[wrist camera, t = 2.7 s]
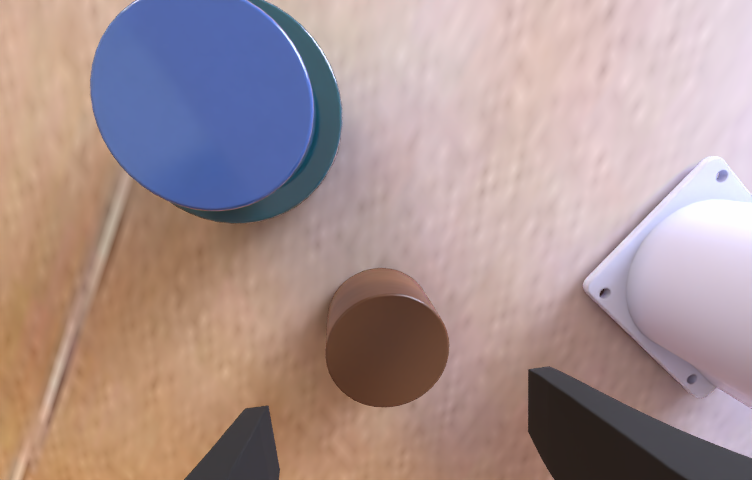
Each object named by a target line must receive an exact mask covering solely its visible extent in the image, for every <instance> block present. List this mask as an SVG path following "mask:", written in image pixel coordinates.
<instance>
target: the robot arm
mask: <svg viewBox="0 0 752 480" xmlns="http://www.w3.org/2000/svg"><path fill="white" fill-rule="evenodd" d="M718 173H719V175H718V178H717V179H716V176H717V174H718ZM583 289H584V291H585V293H587V294H588V295H589V296H590V297H591V298H592V299H593V300H594V301H595V302H596V303H597V304H598V305H599V306H600V307H601V308H602V309H603V310H604V311H605V312H606V313H607V314H608V315H609V316H610V317H611V318H612V319H613V320H614V321H615V322H617V323H618V324H619V325H620V326H621V327H622V328H623V329H624V330H625V331H626V332H627V333H628V334H629V335H630V336H631V337H632V338H633V339H634V340H635V341H636V342H637V343H638V344H639V345H640V346H641V347H642V348H643V349H644V350H645V351H647V352H648V353H649V354H650V355H651V356H652V357H653V358H654V359H655V360H656V361H657V362H658V363H659V364H660V365H661V366H662V367H663V368H664V369H665V370H666V371H667V372H668V373H669V374H670V375H671V376H672V377H673V378H674V379H676V380H677V381H678V382H679V383H680V384H681V385H682V386H683V387H684V388H685V389H686V390H687V391H688V392H689V393H690V394H692V395H693V396H695V397H696V398H704V397H706V396H708V395H709V394H710V393H711V392H712V391H713V390H714V389H715V388H716V387H717V388H719V389H721V390H722V391H724V392H725V393H727V394H729V395H730V396H732V397H734V398H735V399H737V400H738V401H740V402H742V403H743V404H745V405H747V406H748V407H750V408H751V409H752V195H751V194H750V192H749V191H748V190H747V189H746V187H745V186H744V185H743V184H742V182H741V181H740V180H739V179H738V177H737V176H736V175H735V174H734V172H733V171H732V170H731V169H730V167H729V166H728V165H727V164H726V162H725V161H724V160H723V159H722V158H720V157H706V158H704V159H703V160H702V161H701V162H700V163H699V164H698V165H697V166H696V167H695V168H694V169H693V170H692V171H691V172H690V173H689V174H688V175H687V176H686V177H685V178H684V179H683V180H682V181H681V182H680V183H679V184H678V185H677V186H676V187H675V188H674V189H673V190H672V191H671V192H670V193H669V194H668V195H667V196H666V197H665V198H664V199H663V200H662V201H661V202H660V203H659V204H658V205H657V206H656V207H655V208H654V209H653V211H652V212H651V213H650V214H649V215H648V216H647V217H646V218H645V219H644V220H643V221H642V222H641V223H640V224H639V225H638V226H637V227H636V228H635V229H634V230H633V231H632V232H631V233H630V234H629V235H628V236H627V237H626V238H625V239H624V240H623V241H622V242H621V243H620V244H619V245H618V246H617V247H616V248H615V249H614V250H613V251H612V252H611V253H610V254H609V255H608V256H607V257H606V258H605V259H604V260H603V261H602V262H601V263H600V264H599V265H598V266H597V268H596V269H595V270H594V271H593V272H592V273H591V274H590V275H589V276H588V277H587V278H586V279H585V281H584V283H583ZM602 289H605V290H604V293H603V294H602V295H601V296H600V292H601V290H602ZM528 432H529V434H530V436H531V438H532V440H533V442H534V444H535V446H536V448H537V450H538V452H539V454H540V456H541V458H542V460H543V462H544V464H545V466H546V467H547V469H548V471H549V472H550V474H551V475H552V477H553V478H554V480H752V458H749V457H747V456H744V455H741V454H738V453H736V452H733V451H731V450H728V449H726V448H723V447H720V446H718V445H715V444H713V443H710V442H708V441H705V440H703V439H700V438H698V437H695V436H693V435H691V434H688V433H686V432H683V431H681V430H679V429H677V428H674V427H672V426H670V425H668V424H666V423H663V422H661V421H659V420H657V419H655V418H652V417H650V416H648V415H646V414H644V413H642V412H640V411H638V410H636V409H634V408H632V407H630V406H628V405H626V404H624V403H622V402H620V401H618V400H616V399H614V398H612V397H610V396H608V395H606V394H604V393H602V392H600V391H598V390H596V389H594V388H592V387H590V386H588V385H586V384H584V383H583V382H581V381H579V380H577V379H575V378H573V377H571V376H569V375H567V374H565V373H563V372H561V371H559V370H557V369H554V368H552V367H550V366H549V367H542V368H534V369H528ZM279 473H280V468H279V462H278V457H277V451H276V445H275V440H274V434H273V429H272V423H271V417H270V412H269V406H261V407H254V408H246V409H245V410H244V411H243V412H242V413H241V414H240V415H239V416H238V418H237V419H236V420H235V421H234V422H233V424H232V425H231V426H230V427H229V428H228V429H227V431H226V432H225V433H224V434H223V435H222V437H221V438H220V439H219V440H218V441H217V443H216V444H215V445H214V446H213V447H212V449H211V450H210V451H209V452H208V453H207V454H206V455H205V457H204V458H203V459H202V460H201V461H200V462H199V463H198V465H197V466H196V467H195V468H194V469H193V470H192V472H191V473H190V474H189V475H188V476H187V477H186V478H185V479H184V480H279Z"/></svg>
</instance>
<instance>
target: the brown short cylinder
mask: <svg viewBox="0 0 752 480" xmlns="http://www.w3.org/2000/svg"><path fill="white" fill-rule="evenodd" d="M448 354H449V338H448V334H447V330H446V328H445V325H444V323H443V321H442V320H441V318H440V316H439V315H438V313H437V312H436V310H435V308H434V307H433V305H432V303H431V302H430V300H429V299H428V297H427V295H426V294H425V292H424V291H423V289H422V288H421V287H420V285H419V284H418V283H417V282H416V281H415V280H414V279H412V278H411V277H410V276H408V275H406V274H404V273H402V272H399V271H397V270H393V269H386V268H376V269H369V270H366V271H362V272H360V273H358V274H356V275H354V276H352V277H351V278H349V279H348V280H347V281H345V282H344V283H343V284H342V285H341V286H340V287H339V289H338V290H337V291H336V293H335V294H334V296H333V298H332V300H331V303H330V306H329V310H328V320H327V334H326V348H325V358H326V364H327V368H328V371H329V374H330V376H331V378H332V379H333V381H334V382H335V384H336V385H337V386H338V387H339V389H340V390H341V391H342V392H343V393H345V394H346V395H347V396H348V397H350V398H352V399H353V400H355V401H357V402H360V403H362V404H365V405H369V406H374V407H393V406H399V405H402V404H406V403H408V402H411V401H413V400H415V399H417V398H419V397H420V396H422V395H423V394H425V393H426V392H427V391H428V390H429V389H431V388H432V387H433V385H434V384H435V383H436V382H437V381H438V379H439V378H440V376H441V375H442V373H443V371H444V369H445V366H446V363H447V359H448Z"/></svg>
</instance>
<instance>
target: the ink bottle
mask: <svg viewBox="0 0 752 480" xmlns="http://www.w3.org/2000/svg"><path fill="white" fill-rule="evenodd" d="M90 89H91V101H92V108H93V112H94V116H95V119H96V123H97V126H98V128H99V131H100V133H101V135H102V138H103V140H104V142H105V143H106V145H107V147H108V149H109V150H110V152H111V154H112V155H113V156H114V158H115V159H116V160H117V162H118V163H119V164H120V166H121V167H122V168H123V169H124V170H125V171H126V172H127V173H128V174H129V175H130V176H131V177H132V178H133V179H134V180H136V181H137V182H138V183H139V184H140V185H142V186H143V187H144V188H146V189H147V190H149V191H150V192H152V193H153V194H155V195H157V196H159V197H161V198H163V199H165V200H167V201H169V202H170V203H172V204H173V205H175V206H176V207H178V208H180V209H182V210H184V211H186V212H188V213H190V214H192V215H195V216H198V217H200V218H203V219H207V220H211V221H215V222H221V223H230V224H246V223H254V222H260V221H264V220H268V219H271V218H274V217H277V216H279V215H281V214H284V213H286V212H288V211H289V210H291V209H293V208H295V207H296V206H298V205H299V204H300V203H302V202H303V201H304V200H305V199H307V198H308V197H309V196H310V195H311V194H312V193H313V192H314V191H315V190H316V189H317V188H318V186H319V185H320V184H321V182H322V181H323V180H324V178H325V177H326V175H327V173H328V172H329V170H330V168H331V166H332V165H333V163H334V160H335V158H336V155H337V153H338V149H339V145H340V139H341V130H342V105H341V98H340V92H339V89H338V85H337V81H336V78H335V75H334V73H333V70H332V68H331V65H330V63H329V62H328V60H327V58H326V56H325V54H324V52H323V51H322V49H321V48H320V46H319V45H318V44H317V42H316V41H315V39H314V38H313V37H312V36H311V35H310V34H309V32H308V31H307V30H306V29H305V28H304V27H303V26H302V25H301V24H300V23H299V22H297V21H296V20H295V19H294V18H293V17H291V16H290V15H289V14H287V13H286V12H284V11H283V10H281V9H280V8H278V7H277V6H275V5H273V4H271V3H269V2H267V1H265V0H136V1H134V2H132V3H131V4H130V5H128V6H127V7H126V8H125V9H124V10H122V11H121V12H120V13H119V14H118V15H117V16H116V18H115V19H114V20H113V21H112V22H111V23H110V25H109V26H108V28H107V29H106V31H105V33H104V34H103V36H102V38H101V40H100V42H99V45H98V47H97V49H96V52H95V56H94V60H93V64H92V70H91V79H90Z"/></svg>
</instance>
